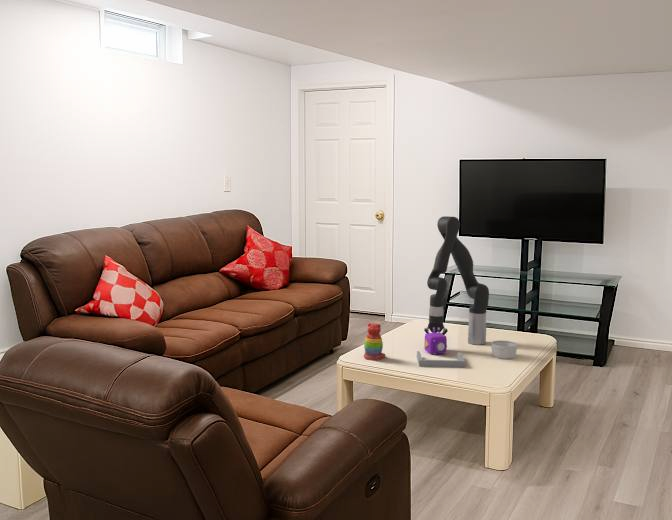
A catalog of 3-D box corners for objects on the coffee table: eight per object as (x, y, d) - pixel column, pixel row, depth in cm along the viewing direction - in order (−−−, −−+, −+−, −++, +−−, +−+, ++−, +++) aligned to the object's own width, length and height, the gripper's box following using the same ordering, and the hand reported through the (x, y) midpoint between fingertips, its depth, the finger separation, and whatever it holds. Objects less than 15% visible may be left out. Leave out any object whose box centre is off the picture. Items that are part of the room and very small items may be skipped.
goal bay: (460, 357, 356) (460, 352, 356) (464, 367, 340) (464, 361, 339) (416, 356, 357) (416, 351, 357) (419, 366, 341) (419, 360, 340)
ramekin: (499, 351, 369) (500, 338, 369) (522, 356, 360) (522, 343, 359) (485, 356, 360) (486, 343, 359) (508, 361, 351) (508, 348, 350)
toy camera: (435, 357, 357) (435, 338, 355) (420, 350, 369) (421, 332, 367) (452, 355, 361) (453, 336, 360) (437, 348, 374) (438, 330, 372)
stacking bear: (386, 356, 358) (387, 322, 356) (381, 361, 349) (381, 326, 346) (366, 354, 362) (366, 320, 359) (360, 359, 352) (361, 324, 350)
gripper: (448, 312, 374) (447, 344, 376) (423, 312, 374) (422, 343, 377) (449, 316, 366) (448, 348, 369) (424, 315, 367) (423, 347, 370)
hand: (435, 346), depth 373 cm, fingers closed
